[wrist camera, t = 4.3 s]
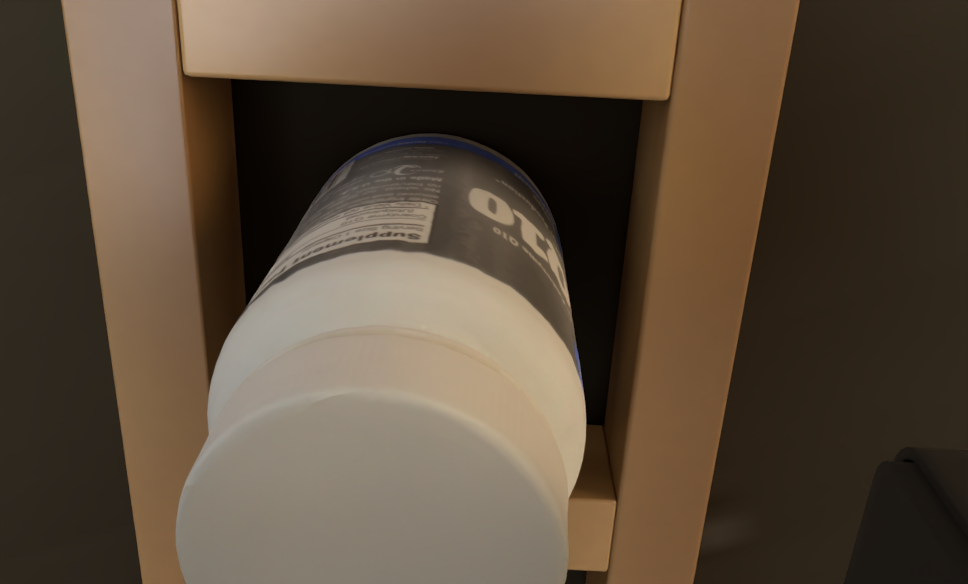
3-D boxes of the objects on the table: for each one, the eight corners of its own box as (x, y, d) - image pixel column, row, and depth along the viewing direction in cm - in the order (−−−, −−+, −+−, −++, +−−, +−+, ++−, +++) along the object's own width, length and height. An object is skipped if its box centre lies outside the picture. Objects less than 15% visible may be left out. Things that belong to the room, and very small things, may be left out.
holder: (213, 757, 22) (179, 857, 20) (123, -59, 15) (52, -48, 12) (626, 778, 22) (639, 880, 20) (756, -26, 15) (804, -9, 12)
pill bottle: (596, 317, 17) (672, 670, 9) (372, 397, 18) (272, 781, 10) (504, 83, 15) (504, 286, 8) (258, 183, 16) (37, 454, 8)
